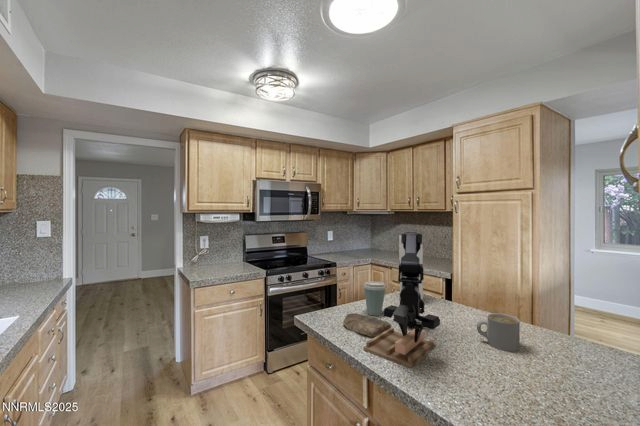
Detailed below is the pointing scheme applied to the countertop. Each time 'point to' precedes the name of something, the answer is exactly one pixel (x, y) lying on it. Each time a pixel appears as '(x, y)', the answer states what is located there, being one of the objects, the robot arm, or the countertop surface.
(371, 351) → the rack
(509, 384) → the countertop surface
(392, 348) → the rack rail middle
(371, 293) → the disposable coffee cup
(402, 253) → the white tall box
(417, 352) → the rack rail
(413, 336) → the clay strip
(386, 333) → the rack rail
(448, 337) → the countertop surface
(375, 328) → the brown rock
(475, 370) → the countertop surface
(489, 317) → the coffee mug
